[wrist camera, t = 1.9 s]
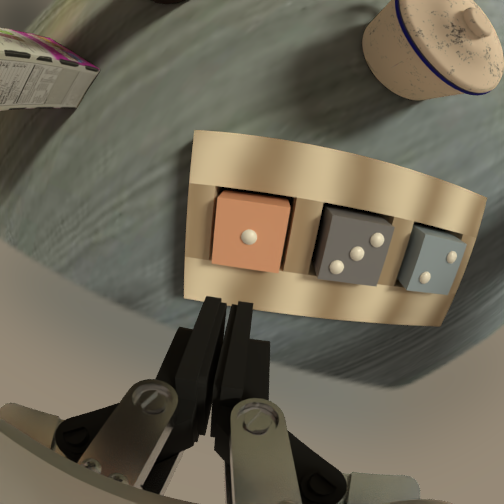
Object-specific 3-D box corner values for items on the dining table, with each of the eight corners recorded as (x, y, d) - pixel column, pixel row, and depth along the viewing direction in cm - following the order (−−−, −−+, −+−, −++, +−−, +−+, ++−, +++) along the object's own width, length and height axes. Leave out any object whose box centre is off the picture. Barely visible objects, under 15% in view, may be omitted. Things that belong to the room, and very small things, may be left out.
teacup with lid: (447, 112, 18) (536, 112, 8) (361, 94, 19) (433, 64, 8) (433, 8, 14) (497, -31, 3) (349, -16, 15) (388, -84, 4)
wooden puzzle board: (469, 191, 21) (487, 197, 18) (428, 311, 26) (440, 326, 24) (204, 131, 21) (194, 130, 19) (192, 281, 27) (183, 298, 24)
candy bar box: (29, 74, 19) (-81, 75, 3) (50, 37, 17) (-58, 19, 2) (77, 113, 21) (-64, 124, 6) (103, 70, 19) (-37, 43, 4)
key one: (288, 198, 22) (290, 208, 19) (277, 257, 23) (278, 274, 21) (224, 189, 22) (217, 197, 19) (218, 248, 24) (211, 264, 21)
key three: (380, 216, 21) (395, 227, 19) (365, 270, 23) (376, 287, 20) (325, 205, 22) (333, 215, 19) (312, 262, 23) (317, 279, 21)
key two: (449, 232, 21) (467, 244, 18) (433, 279, 23) (448, 295, 20) (409, 222, 21) (426, 234, 19) (393, 274, 23) (406, 291, 20)
